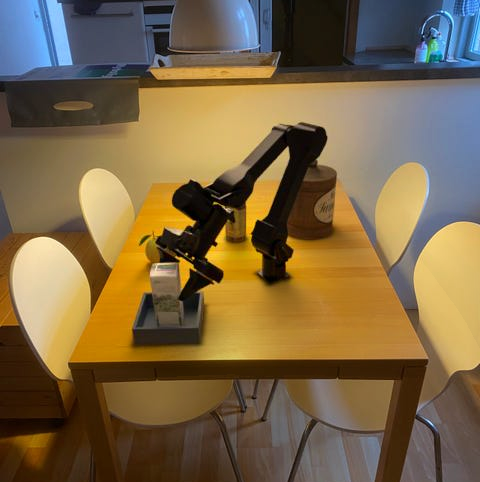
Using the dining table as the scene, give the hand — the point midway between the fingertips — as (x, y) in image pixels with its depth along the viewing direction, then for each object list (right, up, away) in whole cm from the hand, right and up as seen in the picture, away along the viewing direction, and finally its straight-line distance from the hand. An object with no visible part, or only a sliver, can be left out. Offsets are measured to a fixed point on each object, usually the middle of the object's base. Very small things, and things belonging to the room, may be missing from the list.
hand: (167, 291), depth 102 cm
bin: (0, -7, +5) cm, 9 cm away
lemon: (-7, +7, +28) cm, 30 cm away
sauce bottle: (+14, +15, +40) cm, 45 cm away
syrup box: (0, -7, +5) cm, 9 cm away
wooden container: (+37, +19, +44) cm, 61 cm away
